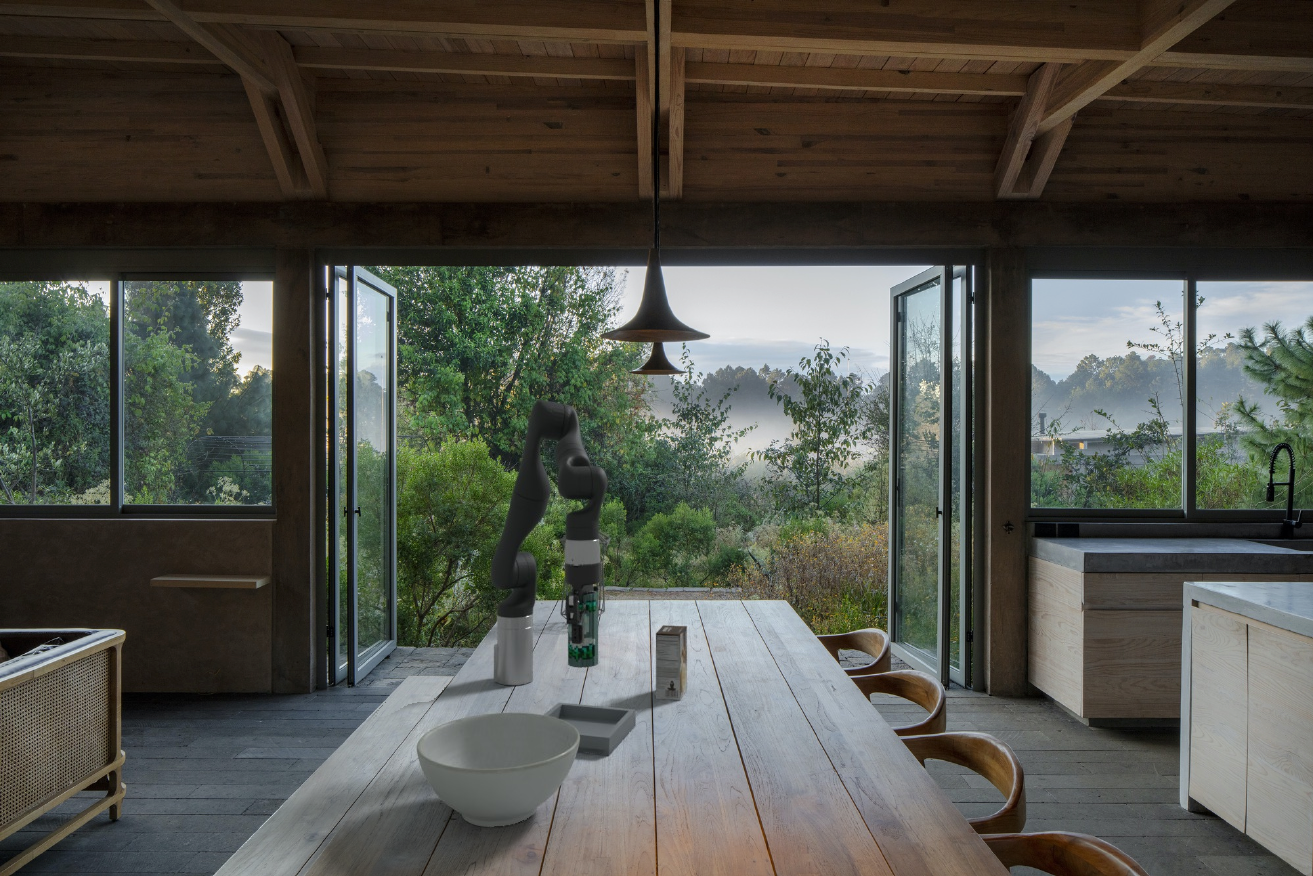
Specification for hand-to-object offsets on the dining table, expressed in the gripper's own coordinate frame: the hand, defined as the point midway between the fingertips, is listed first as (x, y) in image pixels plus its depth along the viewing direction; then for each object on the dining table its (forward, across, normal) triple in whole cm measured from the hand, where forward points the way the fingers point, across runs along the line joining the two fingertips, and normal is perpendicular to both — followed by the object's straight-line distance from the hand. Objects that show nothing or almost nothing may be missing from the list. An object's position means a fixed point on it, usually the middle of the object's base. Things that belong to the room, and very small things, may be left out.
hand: (582, 639), depth 173 cm
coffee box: (+20, -33, +11) cm, 40 cm away
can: (+5, 0, 0) cm, 5 cm away
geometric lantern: (+19, -99, -36) cm, 107 cm away
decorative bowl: (+21, +37, -1) cm, 43 cm away
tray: (+20, 0, 0) cm, 20 cm away
